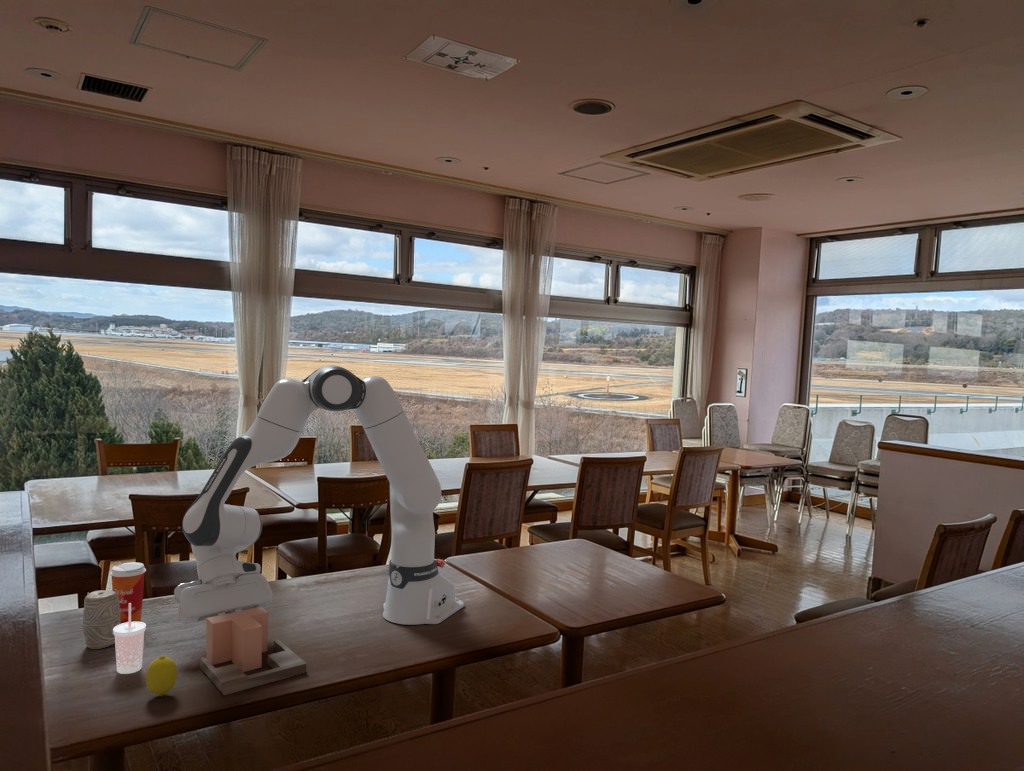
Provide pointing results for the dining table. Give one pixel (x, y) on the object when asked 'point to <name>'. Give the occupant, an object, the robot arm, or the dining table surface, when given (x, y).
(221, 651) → the t block
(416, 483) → the robot arm
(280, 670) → the t dock
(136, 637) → the beverage cup
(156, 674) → the lemon
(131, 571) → the paper cup
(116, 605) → the carving
